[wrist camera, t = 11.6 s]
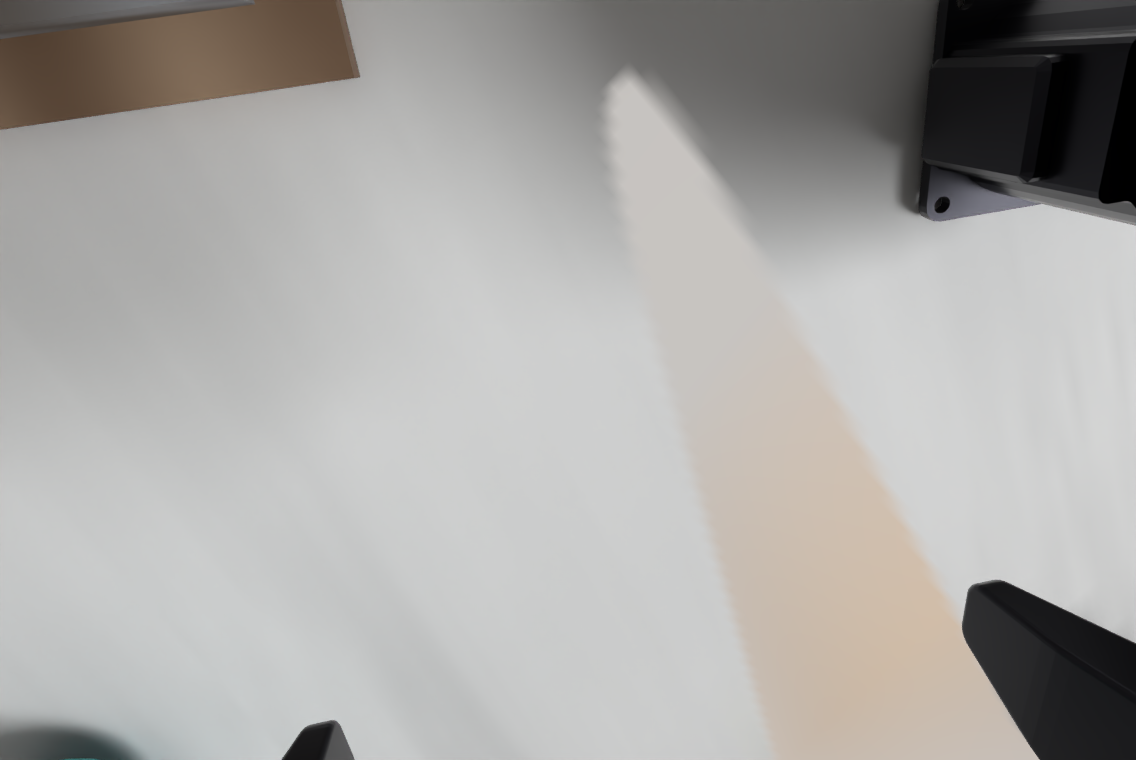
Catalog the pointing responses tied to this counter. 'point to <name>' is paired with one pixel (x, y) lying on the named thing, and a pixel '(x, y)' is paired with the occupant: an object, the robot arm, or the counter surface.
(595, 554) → the counter surface
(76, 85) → the socket holder
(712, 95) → the counter surface
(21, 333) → the counter surface
